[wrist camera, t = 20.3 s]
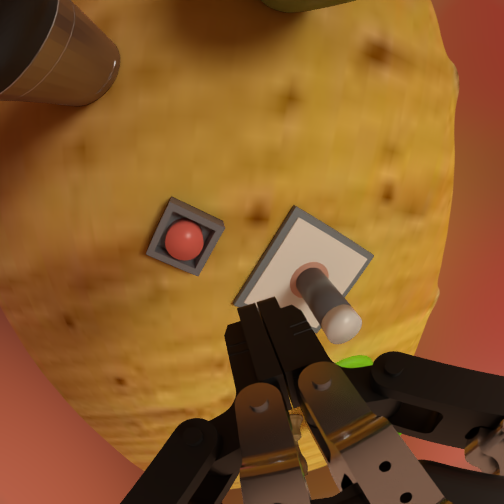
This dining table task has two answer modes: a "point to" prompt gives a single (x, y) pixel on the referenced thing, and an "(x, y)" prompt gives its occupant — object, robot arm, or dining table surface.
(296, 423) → the hand bell
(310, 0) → the flower pot
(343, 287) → the board
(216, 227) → the button base
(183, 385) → the dining table surface
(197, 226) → the button
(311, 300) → the canister
